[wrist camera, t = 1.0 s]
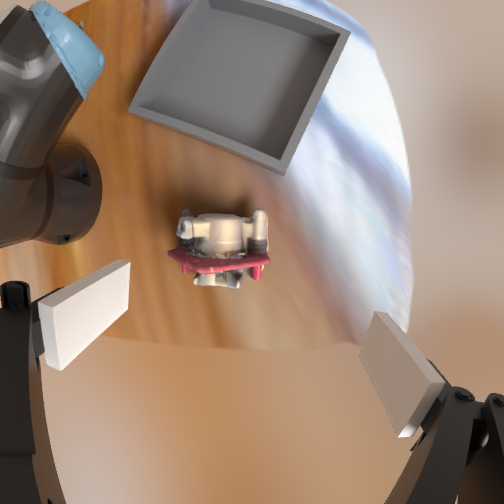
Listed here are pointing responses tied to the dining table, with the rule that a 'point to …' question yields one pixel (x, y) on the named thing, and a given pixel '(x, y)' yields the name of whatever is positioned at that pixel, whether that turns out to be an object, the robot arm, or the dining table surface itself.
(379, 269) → the dining table surface
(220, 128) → the parts bin
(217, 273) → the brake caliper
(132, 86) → the dining table surface
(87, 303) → the robot arm
